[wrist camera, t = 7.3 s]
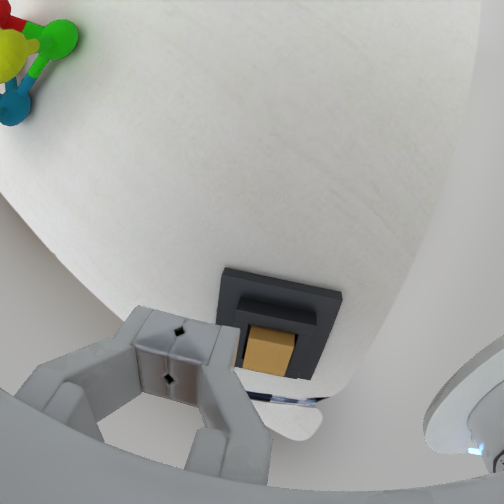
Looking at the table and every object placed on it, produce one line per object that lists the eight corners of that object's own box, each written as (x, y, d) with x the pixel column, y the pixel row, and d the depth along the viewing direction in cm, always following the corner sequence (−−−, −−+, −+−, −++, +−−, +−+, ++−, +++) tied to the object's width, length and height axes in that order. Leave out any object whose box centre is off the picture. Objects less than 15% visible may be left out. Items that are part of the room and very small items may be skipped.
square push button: (341, 291, 26) (345, 312, 23) (310, 372, 30) (310, 394, 28) (225, 267, 27) (216, 285, 24) (214, 352, 31) (206, 372, 28)
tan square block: (295, 333, 25) (294, 347, 24) (285, 362, 27) (283, 377, 25) (252, 324, 26) (248, 337, 24) (245, 354, 27) (242, 368, 26)
